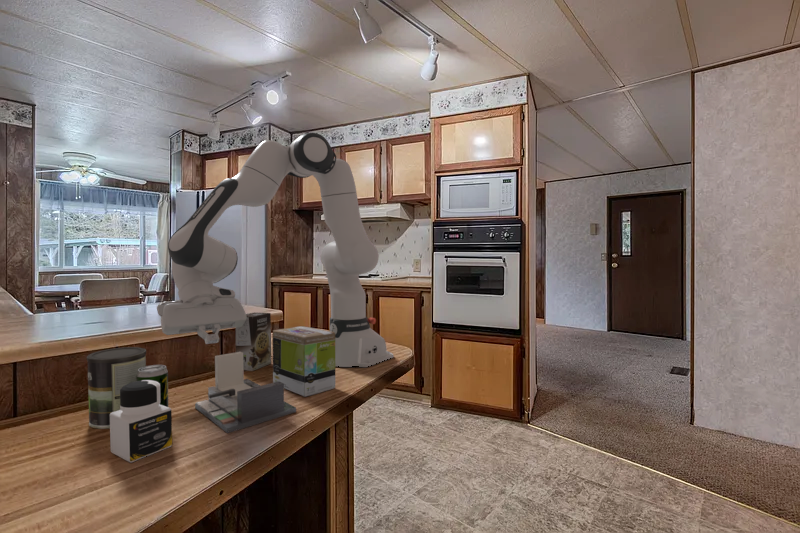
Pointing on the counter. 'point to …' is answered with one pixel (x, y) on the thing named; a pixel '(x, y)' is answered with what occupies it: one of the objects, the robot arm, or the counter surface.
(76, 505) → the counter surface
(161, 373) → the green drink can
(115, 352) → the coffee can
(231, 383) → the plunger
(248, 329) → the coffee box
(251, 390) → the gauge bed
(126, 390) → the medicine bottle
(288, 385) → the tea box
